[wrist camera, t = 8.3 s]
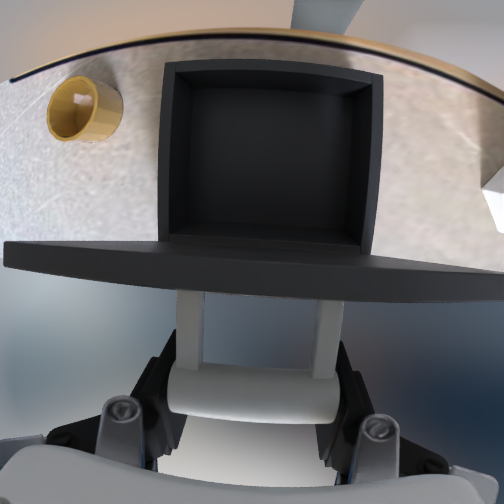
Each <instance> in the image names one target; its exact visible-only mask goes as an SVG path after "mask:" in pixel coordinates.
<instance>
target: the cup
mask: <svg viewBox="0 0 504 504" xmlns="http://www.w3.org/2000/svg"><path fill="white" fill-rule="evenodd" d="M122 114H123V101H122V98H121V96H120V94H119V92H118V91H117V90H116V89H114V88H112V87H111V86H109V85H106V84H104V83H101V82H99V81H96V80H94V79H91V78H89V77H85V76H74V77H71V78H69V79H67V80H65V81H64V82H63V83H62V84H61V85H59V86H58V88H57V89H56V91H55V92H54V94H53V95H52V97H51V99H50V102H49V105H48V108H47V124H48V128H49V131H50V133H51V134H52V135H53V136H54V137H55V138H56V139H57V140H60V141H63V142H84V143H93V142H100V141H103V140H105V139H107V138H108V137H109V136H111V135H112V134H113V133H114V131H115V130H116V129H117V127H118V125H119V124H120V121H121V118H122Z"/></svg>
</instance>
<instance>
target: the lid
mask: <svg viewBox="0 0 504 504" xmlns="http://www.w3.org/2000/svg"><path fill="white" fill-rule="evenodd" d="M3 261H4V262H3V265H4V267H8V268H14V269H19V270H26V271H32V272H38V273H44V274H51V275H57V276H65V277H71V278H78V279H86V280H93V281H101V282H109V283H117V284H125V285H134V286H142V287H152V288H161V289H171V290H177V310H176V311H177V312H176V313H177V314H176V316H177V317H176V360H175V362H174V363H173V365H172V368H171V371H170V374H169V379H168V387H167V401H168V406H169V409H170V411H172V412H175V413H181V414H187V415H193V416H200V417H208V418H216V419H224V420H234V421H246V422H261V423H282V424H329V423H332V422H333V421H334V420H335V418H336V415H337V412H338V407H339V398H340V387H339V379H338V375H337V373H336V371H335V366H336V360H337V354H338V347H339V340H340V332H341V325H342V316H343V308H344V301H350V302H388V303H393V302H394V303H470V302H504V272H496V271H489V270H482V269H475V268H467V267H460V266H452V265H445V264H437V263H429V262H422V261H414V260H406V259H398V258H390V257H382V256H374V255H362V254H347V253H333V252H318V251H303V250H288V249H273V248H257V247H242V246H226V245H210V244H194V243H178V242H162V241H5V242H4V249H3ZM205 293H215V294H226V295H240V296H253V297H268V298H269V297H270V298H284V299H303V300H317V303H316V313H315V322H314V332H313V340H312V348H311V356H310V364H309V369H281V368H280V369H279V368H263V367H249V366H236V365H225V364H216V363H207V362H203V332H204V302H205Z"/></svg>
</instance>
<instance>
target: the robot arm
mask: <svg viewBox="0 0 504 504" xmlns="http://www.w3.org/2000/svg"><path fill="white" fill-rule="evenodd" d="M175 360H176V329H174V331H173V332H172V334H171V336H170V338H169V340H168V342H167V343H166V345H165V347H164V349H163V351H162V353H161V355H160V356H159V357H152V358H151V359H150V361H149V363H148V364H147V366H146V368H145V369H144V371H143V373H142V375H141V377H140V378H139V380H138V382H137V384H136V386H135V387H134V389H133V391H132V393H131V395H130V396H126V395H121V396H116V397H113V398H111V399H109V400H108V401H107V402H106V403H105V404H104V406H103V408H102V414H101V415H98V416H95V417H92V418H88V419H85V420H81V421H78V422H74V423H71V424H67V425H64V426H60V427H57V428H55V429H53V430H52V431H50V432H49V434H48V435H47V437H43V435H34V436H27V437H19V438H10V439H3V440H0V504H495V502H496V498H497V494H498V486H499V485H498V483H497V481H496V479H495V478H494V477H492V476H490V475H486V474H482V473H479V472H475V471H472V470H469V469H465V468H462V467H459V466H456V465H454V466H453V467H449V465H448V463H447V461H446V460H445V459H444V458H443V457H442V456H440V455H438V454H436V453H434V452H432V451H430V450H427V449H425V448H423V447H421V446H419V445H417V444H415V443H412V442H411V441H409V440H406V439H404V438H402V437H400V434H399V426H398V424H397V422H396V421H395V420H394V419H393V418H391V417H389V416H387V415H384V414H375V412H374V409H373V406H372V403H371V401H370V398H369V395H368V392H367V389H366V387H365V384H364V381H363V378H362V376H361V373H360V372H359V371H352V368H351V365H350V362H349V359H348V356H347V353H346V351H345V348H344V345H343V342H342V341H341V340H339V347H338V354H337V360H336V366H335V371H336V373H337V375H338V379H339V387H340V398H339V407H338V412H337V415H336V418H335V420H334V421H333V422H332V423H329V424H315V427H316V434H317V442H318V450H319V458H320V460H324V462H325V467H332V468H333V469H334V470H336V471H338V472H337V476H336V480H335V484H334V486H323V487H258V486H257V487H256V486H242V485H232V484H223V483H214V482H206V481H200V480H194V479H188V478H182V477H177V476H172V475H167V474H163V473H158V466H157V465H158V464H157V458H158V457H160V456H163V454H165V455H171V452H172V449H177V447H178V445H179V441H180V437H181V435H182V432H183V428H184V425H185V422H186V419H187V414H181V413H175V412H172V411H170V409H169V406H168V401H167V387H168V379H169V374H170V371H171V368H172V365H173V363H174V362H175Z"/></svg>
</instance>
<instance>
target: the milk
mask: <svg viewBox="0 0 504 504" xmlns="http://www.w3.org/2000/svg"><path fill="white" fill-rule="evenodd" d="M482 192H483V194H484V197H485V199H486V201H487V204H488V206H489V209H490V211H491V214H492V216H493V219H494V222H495V224H496V227H497V230H498V231H499V232H502V233H504V166H503V167H502V168H501V169H500V170H499V171H498V172H497V173H496V174H495V175H494V176H493V177H492V178H491V179H490V180H489V181H488V182H487V183H486V184H485V185H484V186H483V187H482Z"/></svg>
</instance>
